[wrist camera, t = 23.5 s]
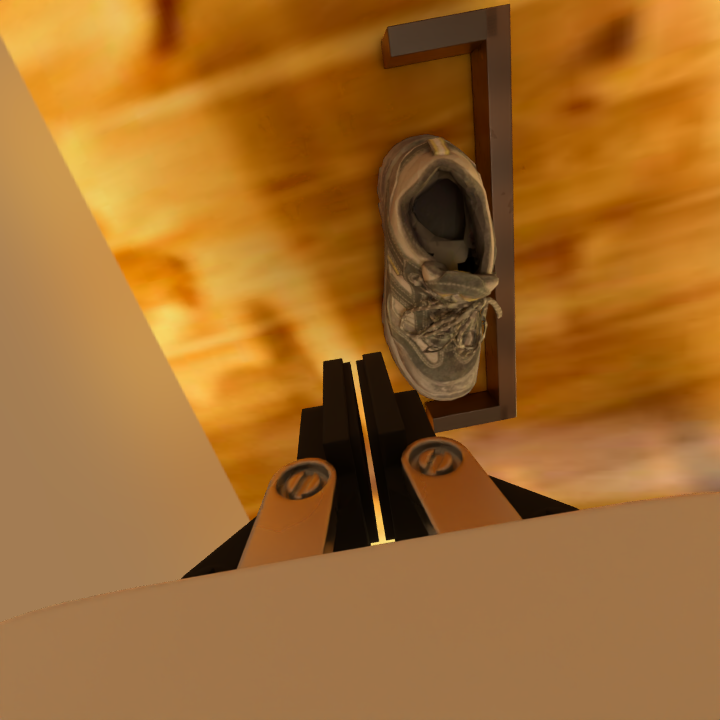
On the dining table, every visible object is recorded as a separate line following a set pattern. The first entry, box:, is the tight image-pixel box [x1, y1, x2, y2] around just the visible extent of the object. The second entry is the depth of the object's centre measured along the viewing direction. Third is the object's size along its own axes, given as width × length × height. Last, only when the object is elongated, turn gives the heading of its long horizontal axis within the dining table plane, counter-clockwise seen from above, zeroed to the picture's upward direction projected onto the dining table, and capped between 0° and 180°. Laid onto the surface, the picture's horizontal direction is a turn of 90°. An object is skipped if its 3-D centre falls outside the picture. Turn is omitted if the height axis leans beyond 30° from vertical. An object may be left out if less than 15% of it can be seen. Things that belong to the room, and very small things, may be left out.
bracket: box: [381, 4, 517, 433], centre depth 33 cm, size 31×8×3 cm, turn 10°
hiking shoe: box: [377, 134, 502, 401], centre depth 31 cm, size 9×21×12 cm
